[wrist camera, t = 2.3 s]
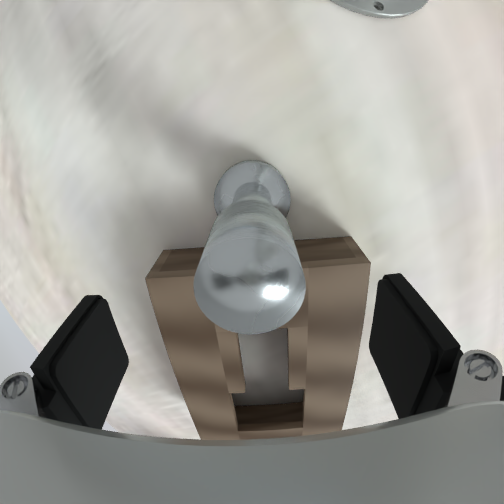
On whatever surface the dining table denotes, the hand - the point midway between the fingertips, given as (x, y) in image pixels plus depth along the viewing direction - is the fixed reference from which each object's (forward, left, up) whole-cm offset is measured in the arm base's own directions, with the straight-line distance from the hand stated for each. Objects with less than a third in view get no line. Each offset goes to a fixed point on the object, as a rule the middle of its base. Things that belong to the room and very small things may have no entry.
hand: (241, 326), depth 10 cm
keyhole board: (+14, 0, -15) cm, 21 cm away
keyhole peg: (-1, 0, -15) cm, 15 cm away
